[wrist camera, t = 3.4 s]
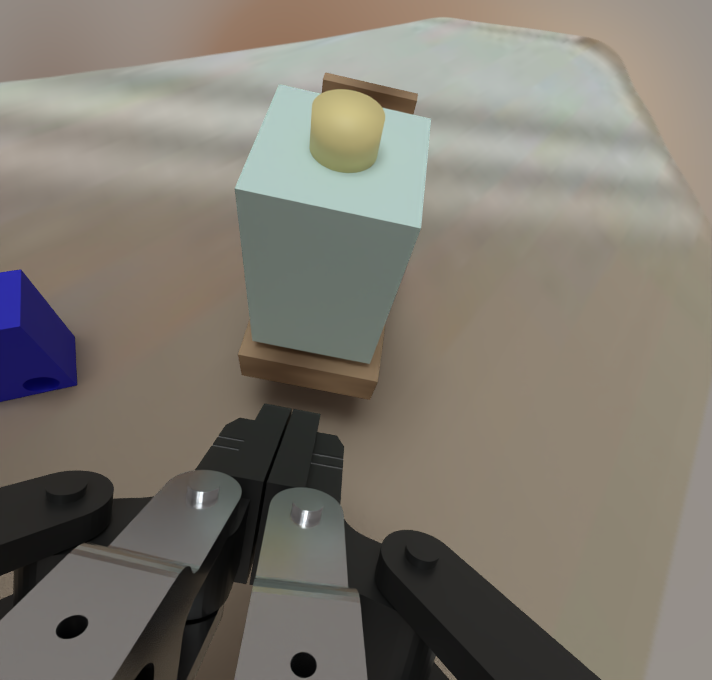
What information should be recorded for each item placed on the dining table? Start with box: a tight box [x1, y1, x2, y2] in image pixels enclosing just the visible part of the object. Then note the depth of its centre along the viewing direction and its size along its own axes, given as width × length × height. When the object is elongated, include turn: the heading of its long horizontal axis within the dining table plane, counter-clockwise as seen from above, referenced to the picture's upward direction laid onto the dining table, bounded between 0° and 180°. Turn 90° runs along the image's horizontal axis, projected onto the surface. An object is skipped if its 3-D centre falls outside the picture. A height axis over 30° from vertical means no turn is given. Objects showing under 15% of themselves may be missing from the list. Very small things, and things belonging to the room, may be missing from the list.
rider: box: [235, 84, 431, 364], centre depth 16 cm, size 5×5×9 cm
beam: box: [238, 73, 418, 400], centre depth 26 cm, size 6×20×7 cm, turn 172°
